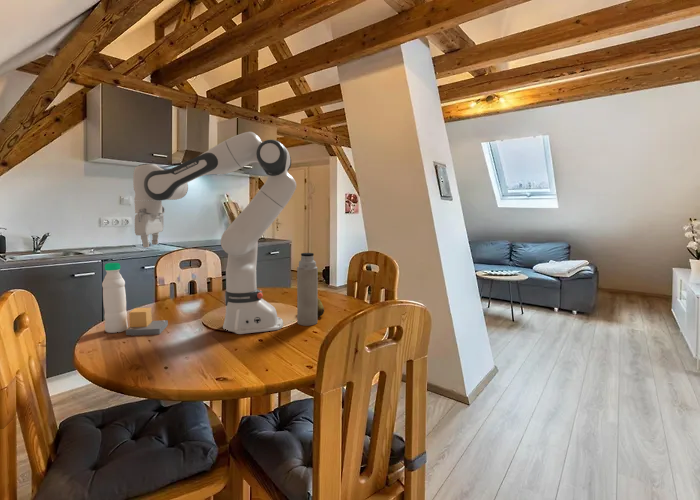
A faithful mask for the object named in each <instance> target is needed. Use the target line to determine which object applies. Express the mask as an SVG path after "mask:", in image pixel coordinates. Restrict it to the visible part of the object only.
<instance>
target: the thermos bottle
mask: <svg viewBox="0 0 700 500" xmlns="http://www.w3.org/2000/svg"><path fill="white" fill-rule="evenodd" d="M314 255H315V254H314V253H313V252H302V253H300V258H301V260H299V261H298V266H297V268H296V272H297V273H296V276H297V277H296V282H297V283H296V292H297V295H296V296H297V297H296V300H297V301H296V302H297V303H296V304H297V305H296V306H297V307H296V308H297V314H296V315H297V317H296V319H297V324H298V325H300V326H314V325H316V324H317V323H318V318H319V317H318V315H317V305H318V299H319V297H318V296H319V295H318V288H319V287H318V285H319V284H318V283H319V282H318V281H319V280H318V278H319V277H318V274H319V273H318V266H317V261H315V260H314Z"/></svg>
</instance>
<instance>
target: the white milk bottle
mask: <svg viewBox="0 0 700 500" xmlns="http://www.w3.org/2000/svg"><path fill="white" fill-rule="evenodd" d="M104 271H105V272H106V274H105V275H104V278H103V281H102V283H101V286H102V302H103V310H104V316H103V319H104V331H105V332H106V333H108V334H118V333H122V332H126V330H127V329H128V328H129V326H128V325H129V324H128V323H129V322H128V312H127V295H126V287H125V285H126V281H125V279H124V278H123V276H122V274H121V273H120V271H121V263H119V262H108V263H105V265H104ZM117 332H118V333H117Z"/></svg>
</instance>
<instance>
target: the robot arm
mask: <svg viewBox="0 0 700 500" xmlns="http://www.w3.org/2000/svg"><path fill="white" fill-rule="evenodd" d="M252 163H258V164H259V165H260V167H261V168H262V169H263V171H264V173H266V175H267V178H266V180H265V182H264V184H263V185H262V186H261V187H260V189H259V190H258V191H257V193H256V194H255V195H254V196H253V198H252V199H251V201H250V202H249V203H248V204H247V205H246V207H245V208H243V209H242V211H241V212H239V215H237V216H236V218H235V219H234V220H232V222H231V223H230V224H229V226H228V227H227V228H226V229H225V230H224V232H223V233H222V235H221V238H220V245H221V248H222V250H223V251H224V252H225V253H226V254H227V263H226V268H225V284H226V285H225V286H226V287H225V288H226V290H225V291H224V292H225V293H224V303H225V316H224V322H223V325H222V328H223V330H225V329H226V330H225V331H227V330H228V331H227V332H232V333H234V334H236V335H237V334H238V335H244V334H251V333H253V334H254V333H262V332H269V331H271V332H272V331H279V330H280V329H282V328H283V326H284V322H283V319H282V318H281V317H279V316H278V313H277V309H276V308H275V306H273V305H272V304H271V303H270V302H269V301H266V300H265V299H264V298H263V295H264V294H263V291H262V289H258V288H257V263H258V242H259V240H260V239H261V237H262V236H263V235H264V234H265V233H266V231H267V230H268V229H269V228H270V226H272V225H273V223H274V222H275V221H276V219H277V217H279V215H280V214H281V213H282V211H283V210H284V209H285V208H286V206H287V205H288V203H289V202H290V200H291V199H292V197H293V195H294V193H295V191H296V190H297V181H296V180H295V178H294V177H293V176H292V175H291V174H290V173H289V170H290V169H291V165H292V157H291V155H290V152H289V150H288V149H287V147H285V145H284V144H283V143H281V142H280V141H279V140H275V139H266V140H262V139H261V138H260V137H259V135H257V134H256V133H255V132H253V131H246V132H242V133H240V134H237V135H234V136H232V137H229V138H228V139H225V140H223V141H222V142H220V143H218V144H216V145H215V146H213V147H212V148H210V149H208V150H206V151H205V152H202V154H199V155H198V156H196V157H193V158H192V159H188V160H186V161H184V162H182V163H180V164H178V165H175V166H174V167H171V168H169V169H164V168H162V167H160V166H158V164H156V163H143V164H138V165H136V166H135V168H134V170H133V177H132V178H133V179H132V181H133V190H134V199H133V200H134V211H135V212H134V214H135V216H134V233H135V235H136V236H140V239H141V242H142V247H143V248H149V247H150V245H153V246H154V245H159V236H160V233H162V232H163V230H164V226H165V225H164V219H165V218H164V216H165V215H164V213H165V210H166V209H165V207H164V206H163V203H162V201H174V200H175V201H177V200H180V199H182V198H185V197H186V195H187V194H188V191H189V190H188V189H189V184H188V183H190V182H192V181H194V180H195V179H198V178H201V177H203V176H207V175H208V176H209V175H227V174H230V173H233V172H236V171H238V170H240V169H242V168H245V167H246V166H248V165H250V164H252ZM149 235H151V236H152V237H151V244H150V241H149Z"/></svg>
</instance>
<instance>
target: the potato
mask: <svg viewBox="0 0 700 500" xmlns="http://www.w3.org/2000/svg"><path fill="white" fill-rule="evenodd" d="M324 313H325V307H324V305H323V303H322V300H321V299H320V298H318V305H317V315H318V318H319V317H321V316H323V315H324Z"/></svg>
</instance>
